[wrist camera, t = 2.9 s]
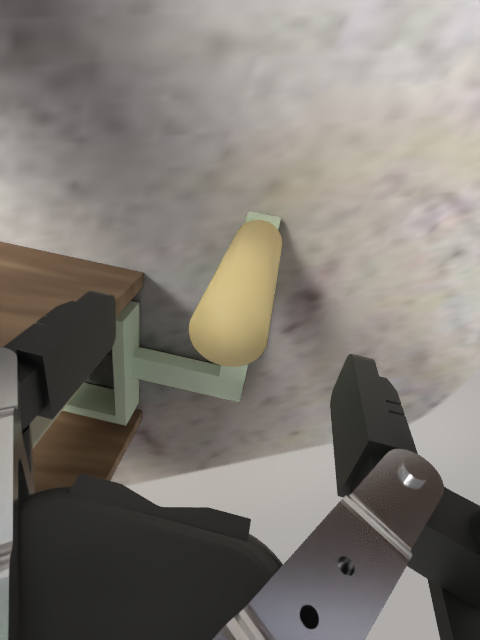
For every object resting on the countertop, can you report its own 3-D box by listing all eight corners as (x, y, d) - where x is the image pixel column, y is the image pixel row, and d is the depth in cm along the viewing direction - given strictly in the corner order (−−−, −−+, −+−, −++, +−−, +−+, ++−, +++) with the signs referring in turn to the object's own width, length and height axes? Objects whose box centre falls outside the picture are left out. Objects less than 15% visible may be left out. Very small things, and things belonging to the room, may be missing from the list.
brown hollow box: (-2, 241, 23) (-387, 409, 10) (143, 272, 23) (-69, 491, 10) (32, 393, 30) (-165, 599, 18) (142, 419, 30) (21, 651, 17)
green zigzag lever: (-22, 155, 20) (-267, 191, 11) (288, 218, 19) (275, 310, 11) (28, 376, 29) (-87, 489, 21) (239, 426, 28) (211, 565, 20)
